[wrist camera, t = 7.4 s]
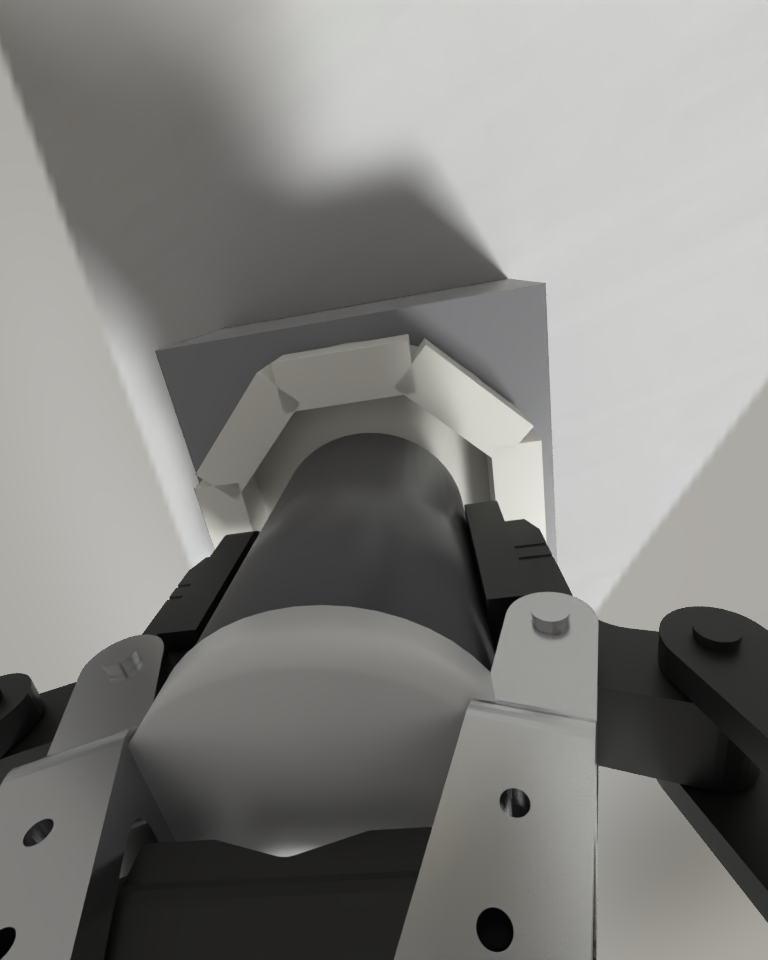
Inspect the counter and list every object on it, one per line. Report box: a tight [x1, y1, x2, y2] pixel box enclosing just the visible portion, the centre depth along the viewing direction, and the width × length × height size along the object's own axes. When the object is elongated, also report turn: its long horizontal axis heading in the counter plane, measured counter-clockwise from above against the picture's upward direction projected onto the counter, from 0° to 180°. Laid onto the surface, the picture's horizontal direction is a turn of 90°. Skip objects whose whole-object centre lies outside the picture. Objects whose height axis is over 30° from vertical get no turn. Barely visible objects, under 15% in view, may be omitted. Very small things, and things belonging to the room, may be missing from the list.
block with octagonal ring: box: [155, 279, 557, 563], centre depth 16 cm, size 12×10×6 cm
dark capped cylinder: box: [128, 433, 496, 857], centre depth 10 cm, size 5×5×8 cm
